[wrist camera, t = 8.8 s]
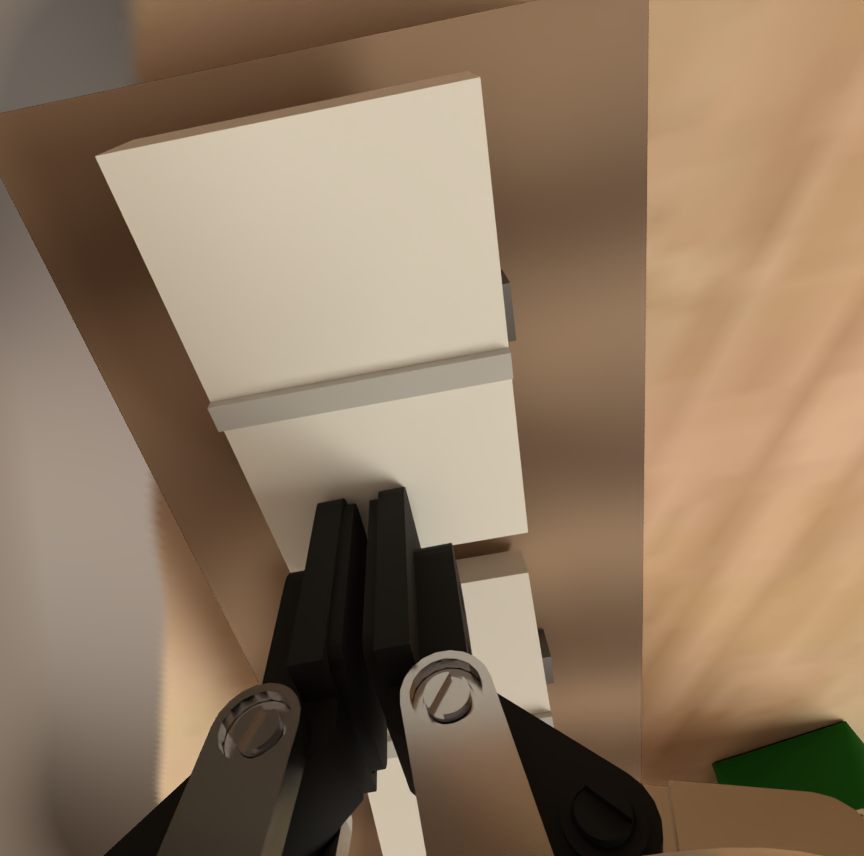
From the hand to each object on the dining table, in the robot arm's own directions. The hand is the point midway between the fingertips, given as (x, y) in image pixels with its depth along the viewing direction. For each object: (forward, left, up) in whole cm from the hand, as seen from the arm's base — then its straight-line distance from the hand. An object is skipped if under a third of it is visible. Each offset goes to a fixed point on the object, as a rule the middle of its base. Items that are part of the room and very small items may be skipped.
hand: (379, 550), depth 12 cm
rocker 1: (-4, +1, -2) cm, 4 cm away
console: (+7, +1, -8) cm, 10 cm away
